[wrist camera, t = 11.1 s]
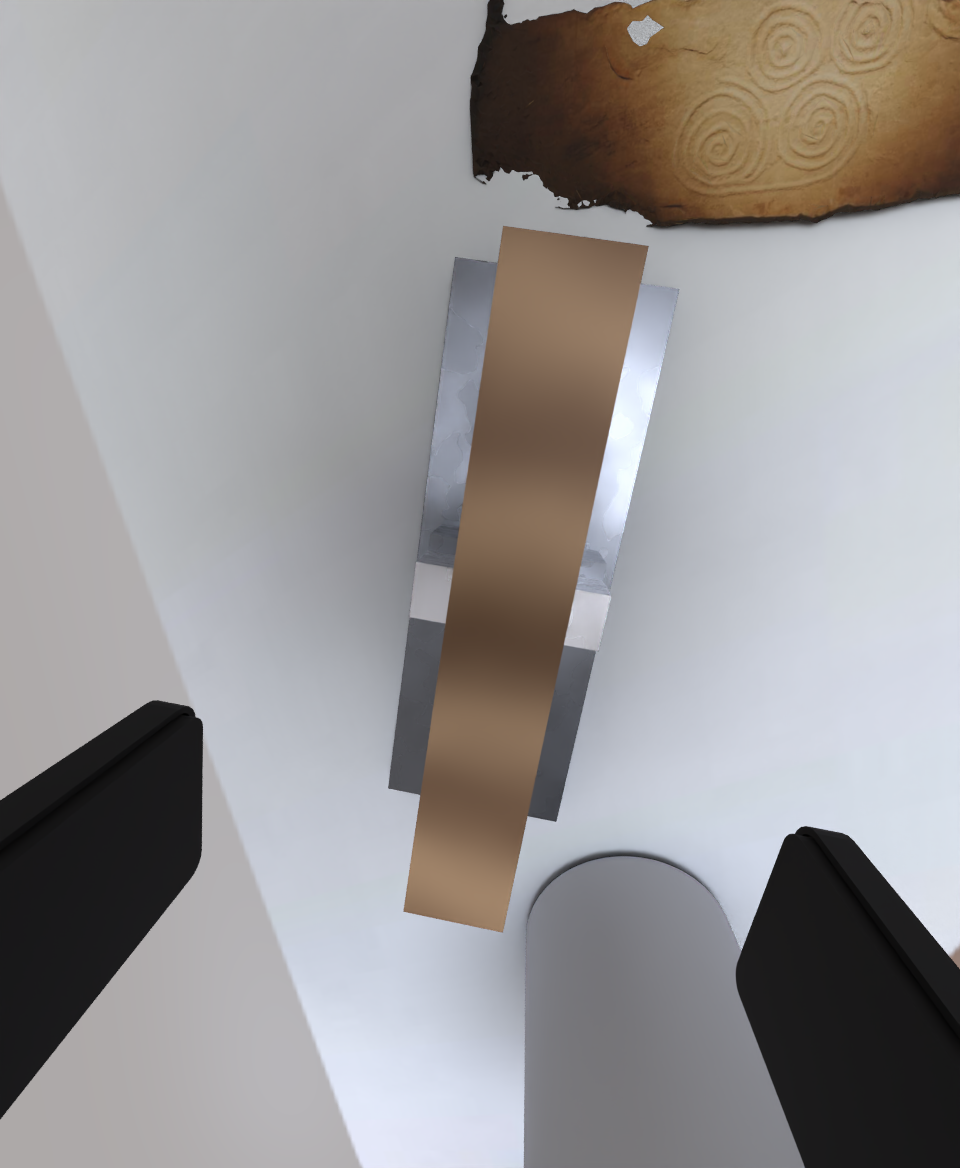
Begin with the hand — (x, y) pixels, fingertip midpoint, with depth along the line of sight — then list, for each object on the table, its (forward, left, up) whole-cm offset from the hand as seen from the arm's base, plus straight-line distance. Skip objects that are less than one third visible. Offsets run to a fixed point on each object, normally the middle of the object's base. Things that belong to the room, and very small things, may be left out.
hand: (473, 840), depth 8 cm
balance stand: (0, 0, -20) cm, 20 cm away
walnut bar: (0, 0, -13) cm, 13 cm away
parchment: (-22, +7, -21) cm, 31 cm away
